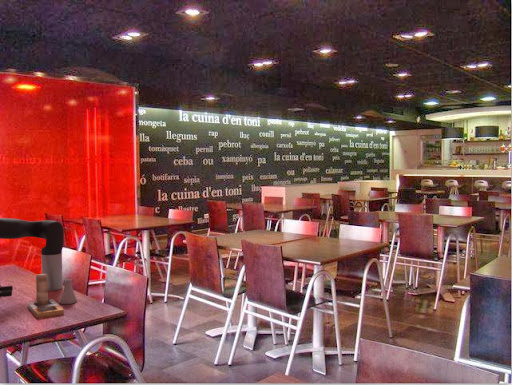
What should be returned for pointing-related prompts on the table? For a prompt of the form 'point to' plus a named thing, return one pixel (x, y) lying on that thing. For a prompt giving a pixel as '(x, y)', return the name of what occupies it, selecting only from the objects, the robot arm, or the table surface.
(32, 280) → the table surface
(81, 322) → the table surface
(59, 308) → the flat wooden frame
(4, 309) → the table surface
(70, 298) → the flask
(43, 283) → the wooden peg
